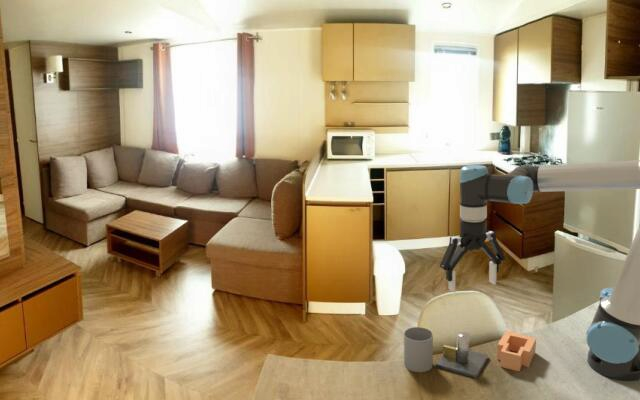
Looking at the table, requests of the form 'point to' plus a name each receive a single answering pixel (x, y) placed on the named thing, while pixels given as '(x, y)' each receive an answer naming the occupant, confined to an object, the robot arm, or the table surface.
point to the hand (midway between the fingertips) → (472, 286)
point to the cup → (418, 349)
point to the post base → (464, 367)
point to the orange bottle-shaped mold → (518, 344)
